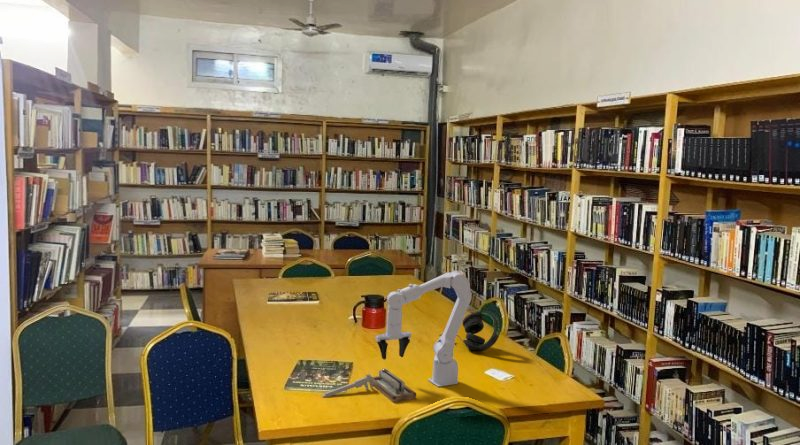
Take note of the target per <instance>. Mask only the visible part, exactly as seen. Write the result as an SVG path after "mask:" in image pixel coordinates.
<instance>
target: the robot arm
mask: <svg viewBox="0 0 800 445" xmlns="http://www.w3.org/2000/svg"><path fill="white" fill-rule="evenodd" d="M443 287H444V288H447V289H451V287H452V289H453V290H454V292H455V294H456V296H457V298H456V300H455V303H454V305H453V308H452V310H451V313H450V316H449V318H448V320H447V323H446V325H445V328H444V329H443V330H444V331H443V333H441V334H442V335H441V334H440V335H441V336H439V338H438V340H437V341H436V342H434V344H433V348H432V349H433V352H434V354H435V356H434V357H433V362H432V365H433V366H432V377H431V378H428V381H429V382H430V383H432V384H433V385H435V386H437V387H438V388H440V387H446V386H451V385H452V386H453V385H458V384H459V381H458V378H459V365H458V362H457V360H456V359H455V358H454V349H455V347H456V346H455V344H456V338H457V337H458V336H457V335H458V334H459V331H460V328H461V326H462V324H463V320H464V318H465V317H466V314H467V311H468V309H469V306H470V303H471V302H472V292H471V291H472V290H471V284H470V281H469V280H468V278H467V277H466V276H465V275H464V274H463V273H462V272H461V271H460V270H455V269H454V270H452V271H450V272H449V271H448V272H446V273H442V275H439V276H437V277H435V278H433V279H430V280H429V281H426V282H424V283H422V284H420V285H419V284H416V283H414V284H412V283H409V284H408V286H406V287H403V288H402V289H400V288H398V289H397V291H391V292H389V293H388V295H387V296H386V302H387V303H388V304H387V311H386V332H385V333H382V334H378V335H375V341H376V343H377V344H378V348H379V350H380V356H381V359H383V360H384V361H386V360H387V350H388V345H389V343H388V342H387V341H392V340H398V345H399V346H398V347H399V349H398V353H399V357H400V358H404V356H405V353H406V349H407V347H408V345H409V344H410V342H411V338H412V333H411V332H410V331H402V323H403V320H402V319H403V312H402V309H403V306H404V305H406V304H409V303H411V302H414V301H416V300H419V299H421V297H422V295H423V294H425V293H428V292H431V291H433V290H436V289H439V288H443Z"/></svg>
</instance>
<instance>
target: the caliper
mask: <svg viewBox="0 0 800 445" xmlns="http://www.w3.org/2000/svg"><path fill="white" fill-rule="evenodd" d="M365 376H366V377H362V378H359V379H356V380H354V382H351V383H348V384H346V385H343V386H340V387H337V388H335V389H332V390H329V391H327V392H324V394H323V395H321V398H326V397H327V398H328V397H331V396H335V395H337V394H340V393H343V392H346V391H348V390H350V389H353V388H356V389H358V388H361V387H363V386H364V387H365V389H366V390H367V391H368V390H369V386H370V390H372V389H373V387H374V386H373V379H372V377H373V376H372V375H371V373H368V374H367V373H366V374H365Z"/></svg>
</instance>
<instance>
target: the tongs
mask: <svg viewBox="0 0 800 445" xmlns="http://www.w3.org/2000/svg"><path fill="white" fill-rule="evenodd" d="M378 376H379V381H380V382H381V383H382V384H383V385H385V386H386V387H387V388H389V389H390V390H391V391H392V392H394V393H395V394H399V392H400V393H404V385H406V384H405V381H404V380H402V379H400V378H399V377H398V376H396V375H395V374H394V373H392V372H391V371H390V370H389V369H386V368H382V369H380V370H378Z"/></svg>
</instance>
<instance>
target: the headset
mask: <svg viewBox="0 0 800 445" xmlns="http://www.w3.org/2000/svg"><path fill="white" fill-rule="evenodd" d="M486 316H488V317H490V318H491V319H492V320H493V322H492V323H493V331H492V334H491V336H490V337H489V339H488V340H487V341H486V339H485V338H484V337H481V336H480V335H476V334H479V333H480V332H482V331H483V329H484V327H485V326H484V325H485V324H484V322H483V317H486ZM462 326H463V328H464V331H465V333H466V334H465V338H464V339H463V340H462V337H460V335H458V334H457V336H456V337H458V338H459V339H460V340H462V342H463V343H464V345H465V346H466V347H467V349H469V350H472V351H485V350H488V349H490V348H492V347H493V346H494V345H495V344H496V342H497V341H498V339H499V337H500V334H501V322H500V319H499V317H498V316H497V315H496V314H495V313H493V312H491V311H488V310H480V311H476V312H474V313H470V314H467V315H465V316H464V318H463V321H462ZM442 334H443V333H441V334H439V337H440V336H441V335H442Z"/></svg>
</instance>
